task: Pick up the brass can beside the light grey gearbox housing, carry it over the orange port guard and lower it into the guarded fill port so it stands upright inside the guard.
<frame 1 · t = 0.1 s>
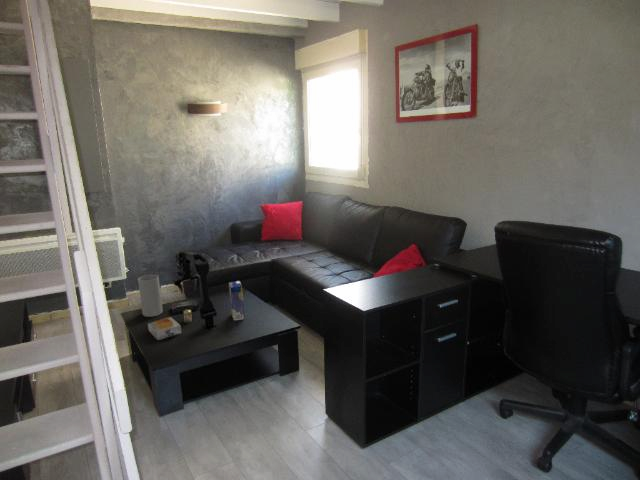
hand: (188, 291, 293), 15 cm above the table, fingers open, 9 cm apart
brass can: (188, 321, 283), on the table
beverage box: (237, 316, 288), on the table
cylinder vase: (152, 313, 297), on the table
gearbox: (165, 332, 268), on the table
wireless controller: (188, 309, 303), on the table
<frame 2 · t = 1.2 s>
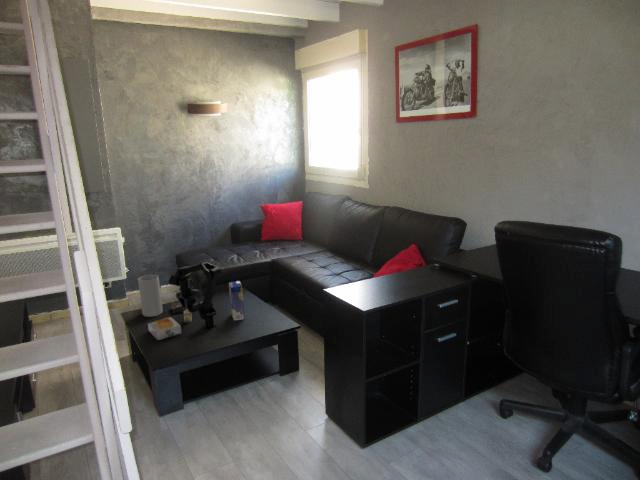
hand: (187, 310, 281), 7 cm above the table, fingers open, 9 cm apart
nothing on the table moved.
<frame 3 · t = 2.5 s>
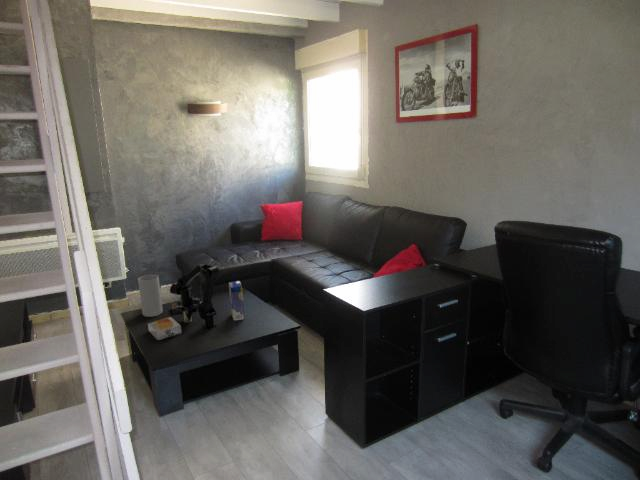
hand: (188, 319, 283), 1 cm above the table, fingers closed on brass can, 5 cm apart
brass can: (188, 321, 283), on the table, touching gripper
everything else where it was.
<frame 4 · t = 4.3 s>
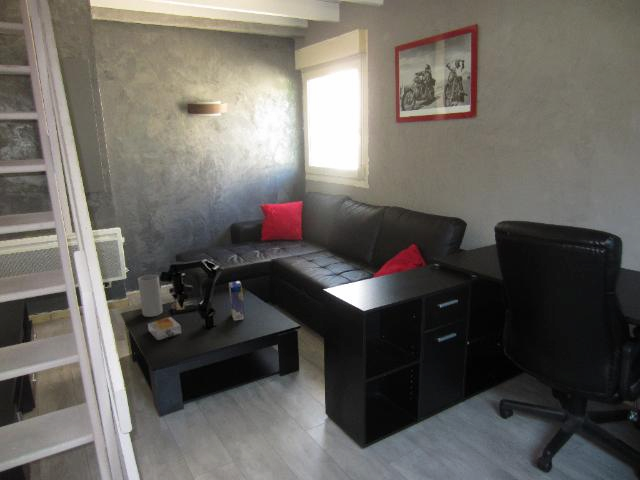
hand: (180, 306, 277), 12 cm above the table, fingers closed on brass can, 5 cm apart
brass can: (180, 308, 277), point 10 cm above the table, touching gripper
everything else where it was.
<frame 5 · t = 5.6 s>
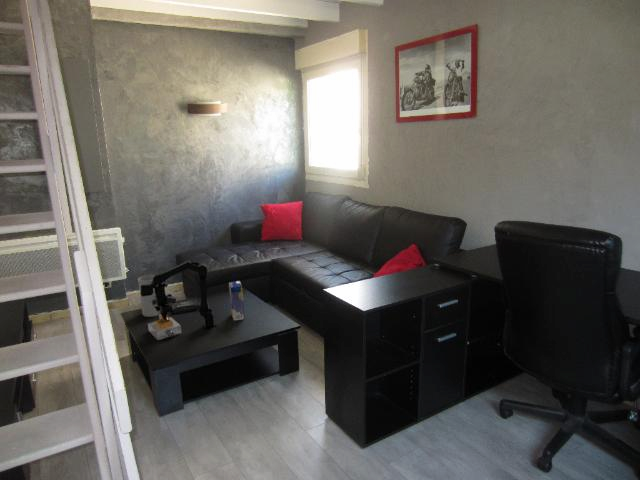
hand: (163, 318, 266), 9 cm above the table, fingers closed on brass can, 5 cm apart
brass can: (163, 320, 267), point 7 cm above the table, touching gripper
everything else where it was.
when the fingers open (8 cm above the table, at t = 6.5 s): brass can drops 1 cm, resting on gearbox.
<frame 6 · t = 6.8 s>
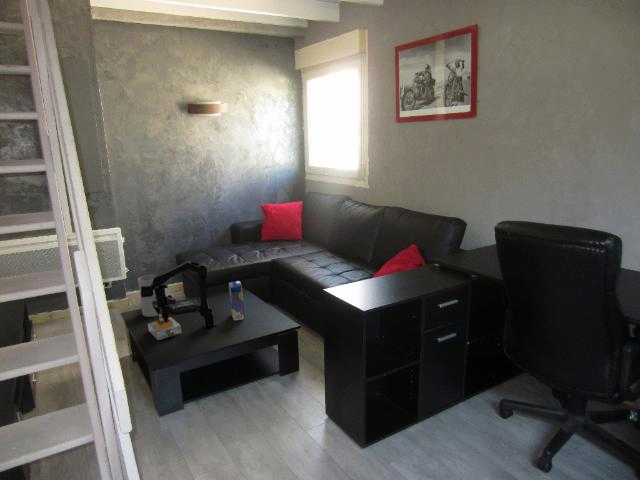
hand: (163, 320, 266), 8 cm above the table, fingers open, 8 cm apart
brass can: (164, 324, 267), point 5 cm above the table, touching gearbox
everything else where it was.
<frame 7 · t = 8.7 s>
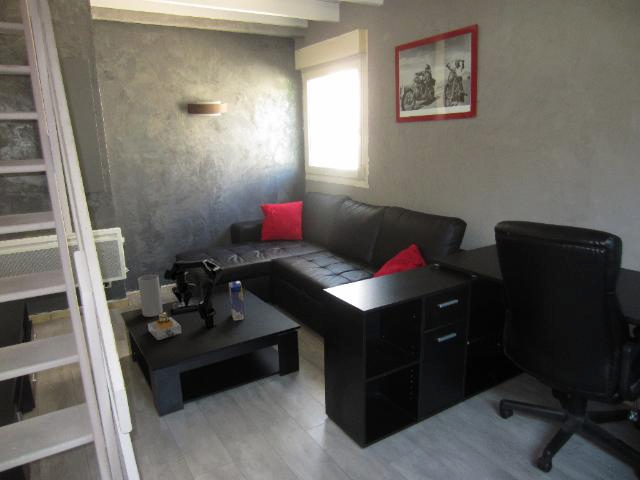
hand: (183, 304, 278), 12 cm above the table, fingers open, 9 cm apart
nothing on the table moved.
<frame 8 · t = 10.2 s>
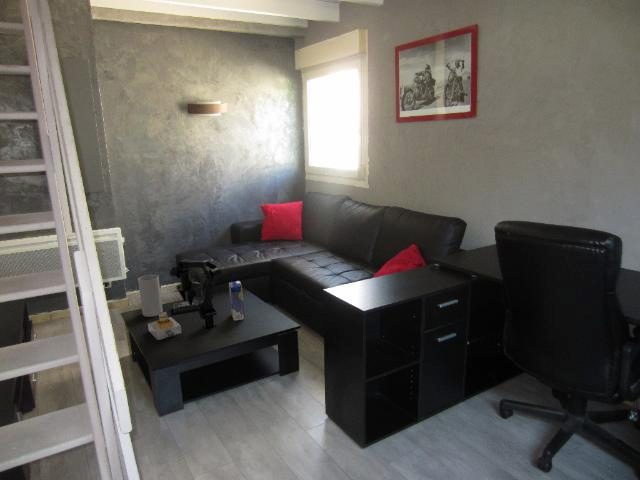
hand: (187, 302, 281), 12 cm above the table, fingers open, 9 cm apart
nothing on the table moved.
at the end: brass can 0.0 cm off-centre on the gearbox, point 5.0 cm above the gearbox's base; brass can tilted 0°; the gripper is holding nothing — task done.
